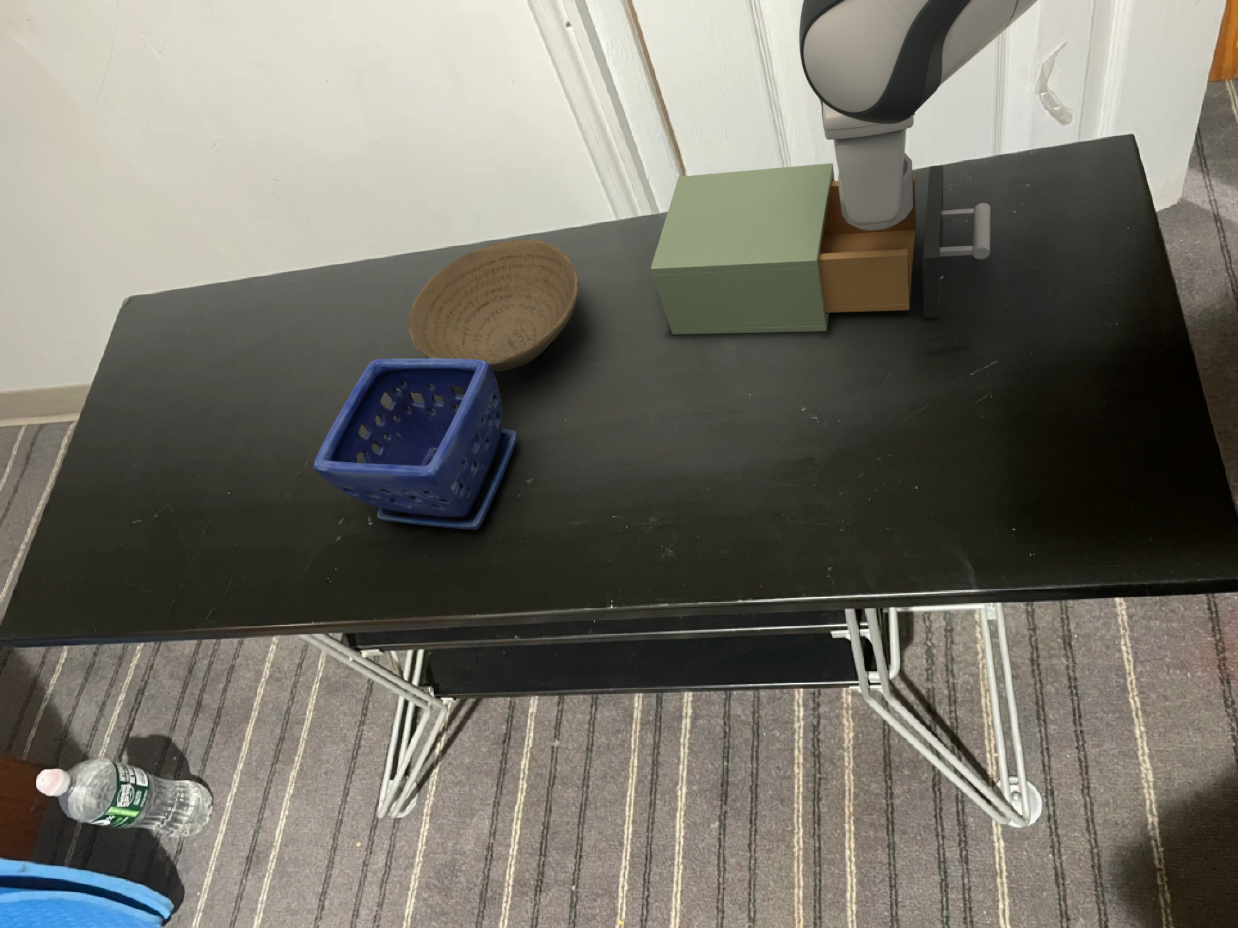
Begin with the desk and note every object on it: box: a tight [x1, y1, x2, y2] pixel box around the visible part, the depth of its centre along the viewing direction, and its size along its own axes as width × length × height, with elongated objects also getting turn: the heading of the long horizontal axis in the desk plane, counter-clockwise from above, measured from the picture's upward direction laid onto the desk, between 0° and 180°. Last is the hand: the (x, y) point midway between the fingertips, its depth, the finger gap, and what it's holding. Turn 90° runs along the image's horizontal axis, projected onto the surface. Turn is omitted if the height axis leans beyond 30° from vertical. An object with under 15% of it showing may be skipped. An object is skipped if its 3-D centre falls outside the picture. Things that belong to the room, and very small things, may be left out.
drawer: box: [818, 165, 992, 318], centre depth 84 cm, size 19×12×7 cm, turn 76°
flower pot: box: [313, 357, 518, 531], centre depth 83 cm, size 13×13×12 cm
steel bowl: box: [837, 152, 914, 231], centre depth 79 cm, size 6×6×4 cm
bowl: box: [407, 239, 580, 372], centre depth 94 cm, size 18×18×8 cm
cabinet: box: [650, 162, 836, 335], centre depth 89 cm, size 16×14×9 cm
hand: (877, 195), depth 80 cm, fingers closed on steel bowl, 6 cm apart
